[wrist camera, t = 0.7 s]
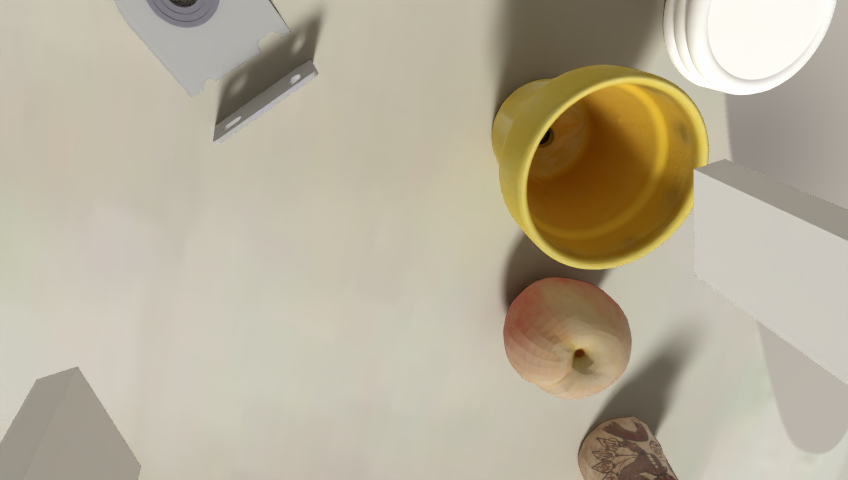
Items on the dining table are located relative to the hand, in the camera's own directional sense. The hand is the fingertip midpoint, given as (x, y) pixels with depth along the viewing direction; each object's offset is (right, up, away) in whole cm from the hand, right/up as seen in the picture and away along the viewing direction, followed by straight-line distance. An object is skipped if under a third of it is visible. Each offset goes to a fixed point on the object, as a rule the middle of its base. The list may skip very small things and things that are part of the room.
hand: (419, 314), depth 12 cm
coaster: (+20, +17, +25) cm, 36 cm away
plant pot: (+7, +9, +26) cm, 28 cm away
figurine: (+17, -17, +39) cm, 46 cm away
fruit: (+9, -3, +31) cm, 32 cm away
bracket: (-11, +13, +19) cm, 26 cm away
